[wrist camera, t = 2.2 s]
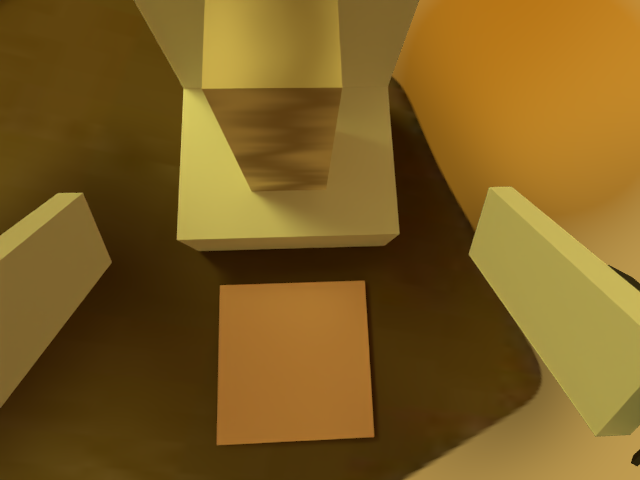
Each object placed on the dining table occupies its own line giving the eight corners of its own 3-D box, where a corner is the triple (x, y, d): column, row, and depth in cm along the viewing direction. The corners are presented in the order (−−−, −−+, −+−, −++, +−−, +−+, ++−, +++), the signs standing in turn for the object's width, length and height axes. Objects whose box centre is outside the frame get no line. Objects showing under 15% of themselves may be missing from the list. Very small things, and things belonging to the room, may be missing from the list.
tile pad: (218, 442, 26) (216, 445, 26) (221, 285, 28) (219, 285, 28) (372, 434, 27) (374, 437, 26) (363, 281, 29) (364, 280, 28)
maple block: (251, 191, 25) (201, 88, 13) (251, 128, 26) (205, -19, 14) (326, 189, 25) (342, 87, 13) (323, 127, 26) (336, -18, 14)
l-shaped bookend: (198, 251, 29) (-269, 13, 5) (203, 107, 32) (-101, -475, 8) (384, 245, 30) (679, 13, 6) (374, 105, 32) (555, -436, 9)
